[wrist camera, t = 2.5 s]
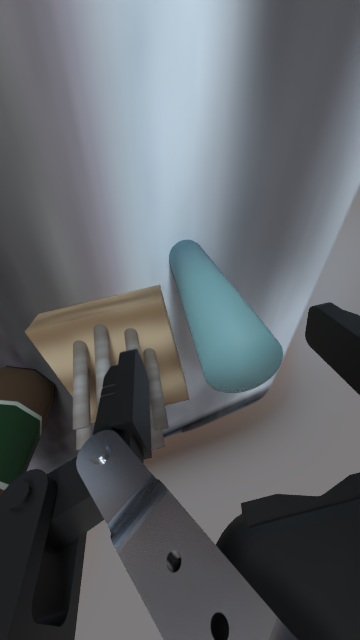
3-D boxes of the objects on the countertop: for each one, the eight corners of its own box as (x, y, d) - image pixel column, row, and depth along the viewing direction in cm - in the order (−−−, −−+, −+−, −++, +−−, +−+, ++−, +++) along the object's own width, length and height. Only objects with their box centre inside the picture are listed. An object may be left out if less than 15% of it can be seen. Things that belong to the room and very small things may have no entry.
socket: (38, 313, 21) (-22, 391, 14) (159, 284, 21) (169, 345, 14) (96, 401, 29) (79, 483, 21) (185, 380, 29) (200, 453, 21)
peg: (165, 244, 19) (198, 344, 8) (200, 236, 20) (285, 323, 8) (173, 277, 21) (208, 400, 10) (205, 270, 21) (280, 382, 10)
